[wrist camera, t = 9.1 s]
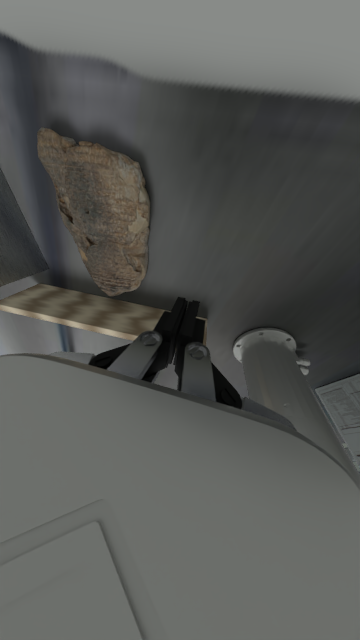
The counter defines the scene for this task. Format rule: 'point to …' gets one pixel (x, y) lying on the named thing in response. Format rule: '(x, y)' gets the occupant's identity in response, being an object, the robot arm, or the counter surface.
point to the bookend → (16, 241)
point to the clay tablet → (101, 208)
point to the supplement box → (344, 410)
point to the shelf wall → (85, 311)
